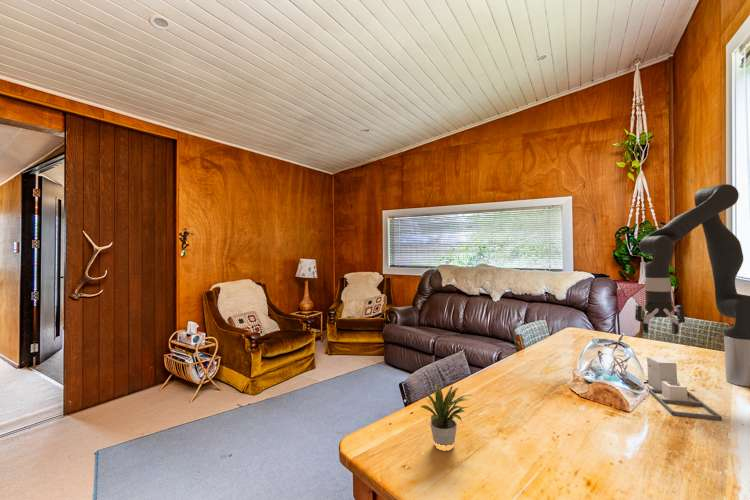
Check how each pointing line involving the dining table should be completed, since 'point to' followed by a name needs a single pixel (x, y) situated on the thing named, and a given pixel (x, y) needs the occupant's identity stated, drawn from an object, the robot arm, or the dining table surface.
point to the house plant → (444, 416)
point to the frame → (697, 403)
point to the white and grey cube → (674, 391)
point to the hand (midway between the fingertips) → (660, 333)
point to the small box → (660, 371)
